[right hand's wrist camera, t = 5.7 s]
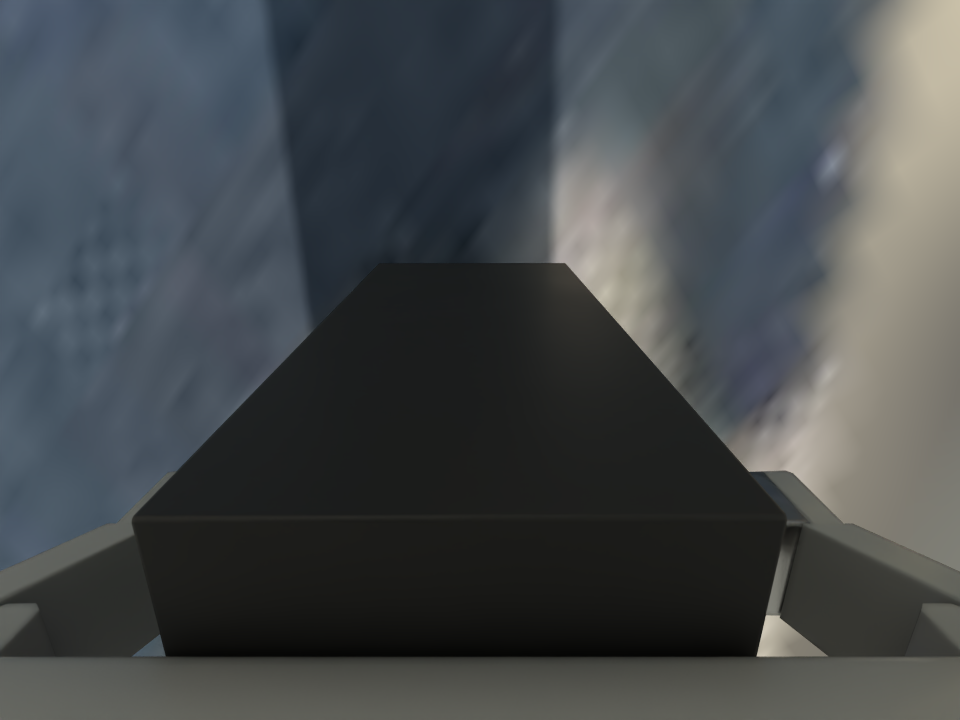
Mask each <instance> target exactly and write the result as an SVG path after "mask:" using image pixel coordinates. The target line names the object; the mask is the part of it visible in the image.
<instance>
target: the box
mask: <svg viewBox="0 0 960 720" xmlns="http://www.w3.org/2000/svg"><path fill="white" fill-rule="evenodd" d="M786 524H787V517H786V514H785V512H784V511H783V510H782V509H781V508H780V507H779V506H778V505H777V503H776V502H775V501H774V500H773V499H772V498H771V497H770V495H769V494H768V493H767V492H766V491H765V490H764V489H763V487H762V486H761V485H760V484H759V483H758V482H757V481H756V480H755V478H754V477H753V476H752V475H751V474H750V473H749V472H748V470H747V469H746V468H745V467H744V466H743V465H742V464H741V462H740V461H739V460H738V459H737V458H736V457H735V456H734V455H733V453H732V452H731V451H730V450H729V449H728V448H727V447H726V445H725V444H724V443H723V442H722V441H721V440H720V439H719V437H718V436H717V435H716V434H715V433H714V432H713V431H712V430H711V428H710V427H709V426H708V425H707V424H706V423H705V422H704V420H703V419H702V418H701V417H700V416H699V415H698V414H697V412H696V411H695V410H694V409H693V408H692V407H691V406H690V404H689V403H688V402H687V401H686V400H685V399H684V398H683V397H682V395H681V394H680V393H679V392H678V391H677V390H676V389H675V387H674V386H673V385H672V384H671V383H670V382H669V381H668V379H667V378H666V377H665V376H664V375H663V374H662V373H661V372H660V370H659V369H658V368H657V367H656V366H655V365H654V364H653V362H652V361H651V360H650V359H649V358H648V357H647V356H646V354H645V353H644V352H643V351H642V350H641V349H640V348H639V347H638V345H637V344H636V343H635V342H634V341H633V340H632V339H631V337H630V336H629V335H628V334H627V333H626V332H625V331H624V329H623V328H622V327H621V326H620V325H619V324H618V323H617V322H616V320H615V319H614V318H613V317H612V316H611V315H610V314H609V312H608V311H607V310H606V309H605V308H604V307H603V306H602V304H601V303H600V302H599V301H598V300H597V299H596V298H595V297H594V295H593V294H592V293H591V292H590V291H589V290H588V289H587V287H586V286H585V285H584V284H583V283H582V282H581V281H580V279H579V278H578V277H577V276H576V275H575V274H574V273H573V272H572V270H571V269H570V268H569V267H568V266H567V265H566V264H565V263H380V264H378V265H377V266H376V267H375V268H374V269H373V270H372V271H371V272H370V273H369V274H368V275H367V277H366V278H365V279H364V280H363V281H362V282H361V283H360V284H359V285H358V286H357V287H356V288H355V289H354V290H353V291H352V292H351V293H350V294H349V295H348V296H347V297H346V298H345V299H344V300H343V301H342V302H341V303H340V304H339V305H338V306H337V307H336V308H335V309H334V310H333V311H332V312H331V313H330V314H329V316H328V317H327V318H326V319H325V320H324V321H323V322H322V323H321V324H320V325H319V326H318V327H317V328H316V329H315V330H314V331H313V332H312V333H311V334H310V335H309V336H308V337H307V338H306V339H305V340H304V341H303V342H302V343H301V344H300V345H299V346H298V347H297V348H296V349H295V350H294V351H293V352H292V353H291V355H290V356H289V357H288V358H287V359H286V360H285V361H284V362H283V363H282V364H281V365H280V366H279V367H278V368H277V369H276V370H275V371H274V372H273V373H272V374H271V375H270V376H269V377H268V378H267V379H266V380H265V381H264V382H263V383H262V384H261V385H260V386H259V387H258V388H257V389H256V390H255V391H254V392H253V394H252V395H251V396H250V397H249V398H248V399H247V400H246V401H245V402H244V403H243V404H242V405H241V406H240V407H239V408H238V409H237V410H236V411H235V412H234V413H233V414H232V415H231V416H230V417H229V418H228V419H227V420H226V421H225V422H224V423H223V424H222V425H221V426H220V427H219V428H218V429H217V430H216V431H215V433H214V434H213V435H212V436H211V437H210V438H209V439H208V440H207V441H206V442H205V443H204V444H203V445H202V446H201V447H200V448H199V449H198V450H197V451H196V452H195V453H194V454H193V455H192V456H191V457H190V458H189V459H188V460H187V461H186V462H185V463H184V464H183V465H182V466H181V467H180V468H179V469H178V471H177V472H176V473H175V474H174V475H173V476H172V477H171V478H170V479H169V480H168V481H167V482H166V483H165V484H164V485H163V486H162V487H161V488H160V489H159V490H158V491H157V492H156V493H155V494H154V495H153V496H152V497H151V498H150V499H149V500H148V501H147V502H146V503H145V504H144V505H143V506H142V507H141V508H140V510H139V511H138V512H137V513H136V514H135V515H134V516H133V518H132V527H133V531H134V535H135V539H136V543H137V546H138V550H139V554H140V558H141V562H142V566H143V570H144V573H145V577H146V581H147V585H148V589H149V593H150V597H151V601H152V604H153V608H154V612H155V616H156V620H157V624H158V628H159V631H160V635H161V639H162V643H163V647H164V651H165V655H166V657H756V656H757V652H758V647H759V643H760V638H761V634H762V630H763V625H764V621H765V616H766V612H767V608H768V603H769V599H770V594H771V590H772V586H773V581H774V577H775V572H776V568H777V564H778V559H779V555H780V550H781V546H782V542H783V537H784V533H785V528H786Z"/></svg>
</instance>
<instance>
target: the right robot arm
mask: <svg viewBox="0 0 960 720" xmlns="http://www.w3.org/2000/svg"><path fill="white" fill-rule="evenodd" d="M176 472H177V471H174V472H169V473H167V474H166V475H165V476H164V477H163V478H162V479H161V480H160V481H159V482H158V483H157V484H156V485H155V486H154V487H153V488H152V489H151V490H150V491H149V492H148V493H147V494H146V495H145V496H144V497H143V498H142V499H141V500H140V501H139V502H138V503H137V504H136V505H135V506H134V507H133V508H132V509H131V510H130V511H129V512H128V513H127V514H126V515H125V516H124V517H123V518H122V519H121V520H120V521H119V522H118V523H116V524H105V525H103V526H101V527H99V528H96V529H94V530H92V531H90V532H87V533H85V534H83V535H81V536H78V537H76V538H74V539H72V540H70V541H67V542H65V543H63V544H61V545H58V546H56V547H54V548H52V549H49V550H47V551H45V552H43V553H40V554H38V555H36V556H34V557H31V558H29V559H27V560H25V561H23V562H20V563H18V564H16V565H14V566H11V567H9V568H7V569H5V570H2V571H0V720H960V572H959V571H957V570H955V569H953V568H951V567H948V566H946V565H944V564H942V563H939V562H937V561H935V560H933V559H930V558H928V557H926V556H924V555H922V554H919V553H917V552H915V551H913V550H910V549H908V548H906V547H904V546H902V545H899V544H897V543H895V542H893V541H890V540H888V539H886V538H884V537H881V536H879V535H877V534H875V533H873V532H870V531H868V530H866V529H864V528H861V527H859V526H857V525H855V524H844V523H843V522H842V521H841V520H840V519H838V518H837V517H836V516H835V515H834V514H833V513H832V512H831V511H830V510H829V509H828V508H827V507H826V506H825V505H824V504H823V503H822V502H821V501H820V500H819V499H818V498H817V497H816V496H815V495H814V494H813V493H812V492H811V491H810V490H809V489H808V488H807V487H806V486H805V485H804V484H803V483H802V482H801V481H800V480H799V479H798V478H797V477H796V476H795V475H794V474H793V473H791V472H788V471H763V472H749V473H750V474H751V475H752V476H753V477H754V478H755V480H756V481H757V482H758V483H759V484H760V485H761V486H762V487H763V489H764V490H765V491H766V492H767V493H768V494H769V495H770V497H771V498H772V499H773V500H774V501H775V502H776V503H777V505H778V506H779V507H780V508H781V509H782V510H783V511H784V512H785V514H786V517H787V524H786V528H785V533H784V537H783V542H782V546H781V550H780V555H779V559H778V564H777V568H776V572H775V577H774V581H773V586H772V590H771V594H770V599H769V603H768V608H767V612H766V615H780V618H781V619H782V620H783V621H785V622H786V623H787V624H788V625H790V626H791V627H792V628H793V629H795V630H796V631H797V632H798V633H800V634H801V635H802V636H804V637H805V638H806V639H807V640H809V641H810V642H811V643H812V644H814V645H815V646H816V647H817V648H819V649H820V650H821V651H823V652H824V653H825V654H826V655H828V656H829V657H131V656H133V655H134V654H135V653H136V652H138V651H139V650H140V649H141V648H143V647H144V646H145V645H146V644H148V643H149V642H150V641H152V640H153V639H154V638H155V637H157V636H158V635H159V634H160V631H159V628H158V624H157V620H156V616H155V612H154V608H153V604H152V601H151V597H150V593H149V589H148V585H147V581H146V577H145V573H144V570H143V566H142V562H141V558H140V554H139V550H138V546H137V543H136V539H135V535H134V531H133V527H132V518H133V516H134V515H135V514H136V513H137V512H138V511H139V510H140V508H141V507H142V506H143V505H144V504H145V503H146V502H147V501H148V500H149V499H150V498H151V497H152V496H153V495H154V494H155V493H156V492H157V491H158V490H159V489H160V488H161V487H162V486H163V485H164V484H165V483H166V482H167V481H168V480H169V479H170V478H171V477H172V476H173V475H174V474H175V473H176Z"/></svg>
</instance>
